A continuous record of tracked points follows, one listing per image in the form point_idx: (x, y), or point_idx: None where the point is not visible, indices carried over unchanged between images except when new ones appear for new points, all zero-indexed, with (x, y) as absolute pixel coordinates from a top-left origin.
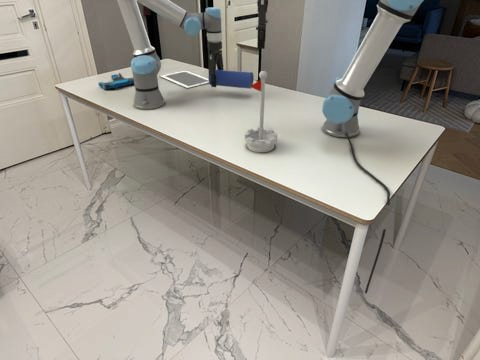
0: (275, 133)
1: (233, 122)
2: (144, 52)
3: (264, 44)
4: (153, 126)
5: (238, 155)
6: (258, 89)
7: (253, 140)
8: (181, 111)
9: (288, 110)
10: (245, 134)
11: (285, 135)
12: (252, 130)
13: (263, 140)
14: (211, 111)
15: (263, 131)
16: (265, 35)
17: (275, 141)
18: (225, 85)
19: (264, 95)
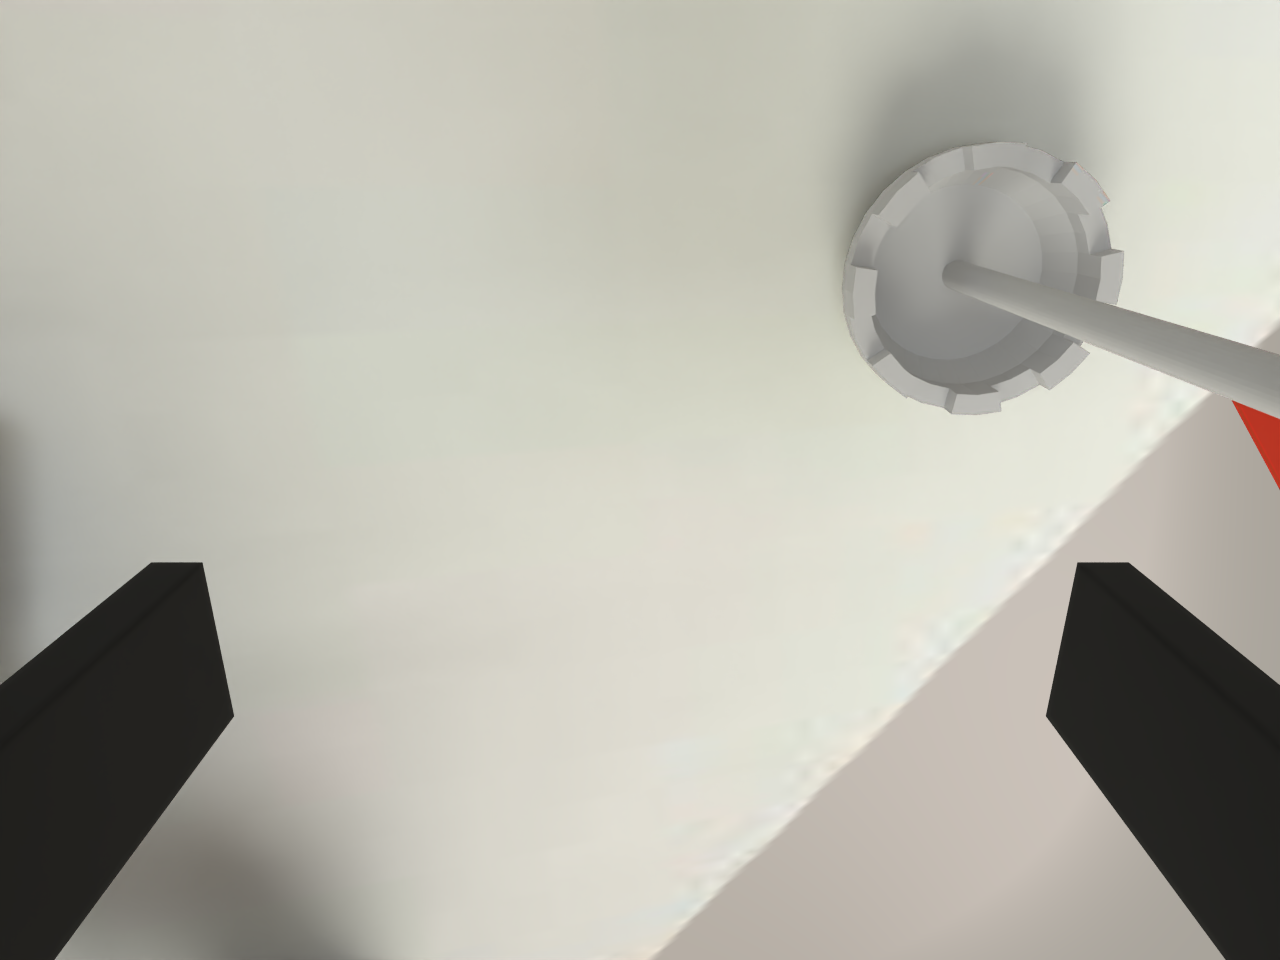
0: (988, 160)
1: (538, 498)
2: None
3: (1192, 618)
4: (655, 938)
5: (1071, 418)
6: (1250, 424)
7: (1068, 340)
8: (394, 849)
9: (171, 9)
10: (990, 408)
11: (756, 62)
12: (892, 357)
13: (1111, 262)
14: (353, 672)
15: (871, 264)
16: (111, 643)
17: (1052, 159)
18: None
19: (1190, 329)
